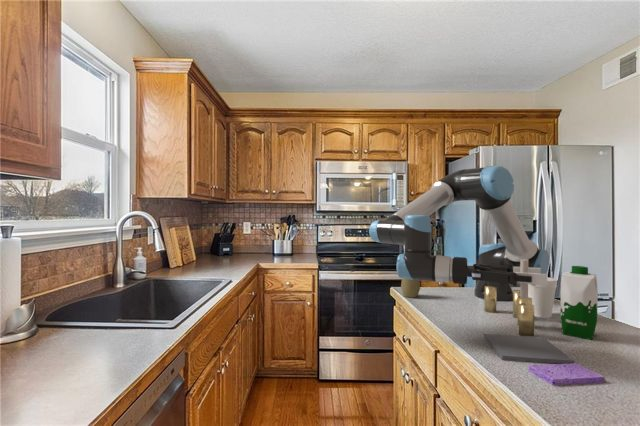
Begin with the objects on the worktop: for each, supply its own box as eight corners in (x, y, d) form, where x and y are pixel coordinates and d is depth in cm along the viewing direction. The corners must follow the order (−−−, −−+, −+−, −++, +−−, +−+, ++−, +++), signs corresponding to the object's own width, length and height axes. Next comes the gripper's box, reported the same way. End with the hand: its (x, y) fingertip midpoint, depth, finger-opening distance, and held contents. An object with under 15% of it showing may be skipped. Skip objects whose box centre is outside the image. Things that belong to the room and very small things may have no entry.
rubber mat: (543, 340, 99) (543, 337, 99) (574, 364, 83) (574, 360, 83) (483, 337, 102) (483, 333, 102) (502, 359, 86) (502, 355, 86)
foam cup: (557, 320, 118) (557, 282, 118) (525, 316, 123) (525, 279, 123) (555, 313, 126) (556, 277, 126) (526, 309, 131) (526, 275, 131)
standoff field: (516, 311, 129) (516, 286, 129) (556, 339, 100) (556, 308, 100) (483, 309, 131) (483, 285, 131) (512, 336, 102) (512, 305, 102)
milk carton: (598, 334, 105) (598, 267, 105) (595, 342, 98) (595, 271, 98) (563, 327, 111) (563, 264, 111) (558, 334, 104) (558, 267, 104)
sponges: (528, 372, 80) (528, 364, 80) (577, 370, 82) (577, 362, 82) (552, 388, 73) (552, 379, 73) (605, 384, 75) (605, 376, 75)
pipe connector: (534, 293, 97) (534, 257, 97) (554, 303, 87) (555, 263, 87) (496, 292, 98) (497, 257, 98) (512, 301, 88) (513, 262, 88)
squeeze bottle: (401, 298, 148) (401, 255, 148) (400, 293, 156) (400, 253, 156) (421, 299, 147) (421, 256, 147) (419, 294, 155) (419, 254, 155)
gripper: (454, 276, 110) (537, 283, 101) (448, 290, 90) (551, 300, 80) (454, 252, 110) (537, 257, 101) (449, 261, 90) (551, 267, 80)
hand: (543, 276), depth 91 cm, fingers closed on pipe connector, 10 cm apart
